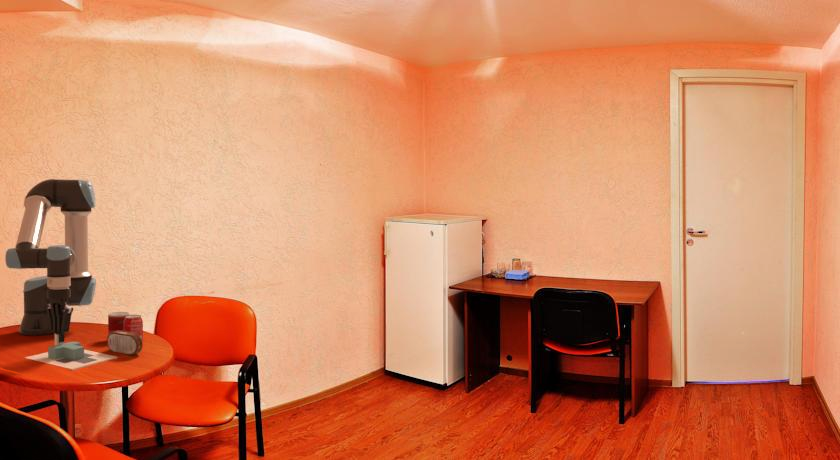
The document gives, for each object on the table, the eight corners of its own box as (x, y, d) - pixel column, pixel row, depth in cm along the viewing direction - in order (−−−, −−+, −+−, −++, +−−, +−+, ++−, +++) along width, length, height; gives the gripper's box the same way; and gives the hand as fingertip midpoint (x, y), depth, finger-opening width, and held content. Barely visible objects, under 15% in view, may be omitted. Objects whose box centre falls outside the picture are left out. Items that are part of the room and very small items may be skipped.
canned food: (121, 343, 252) (121, 316, 251) (103, 341, 253) (103, 314, 253) (133, 338, 259) (133, 312, 258) (116, 337, 261) (116, 311, 260)
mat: (70, 347, 243) (70, 346, 243) (117, 358, 232) (117, 356, 232) (24, 358, 227) (24, 357, 227) (71, 370, 215) (71, 369, 215)
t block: (73, 351, 236) (73, 341, 236) (91, 355, 232) (91, 345, 231) (48, 358, 227) (48, 347, 227) (66, 362, 223) (65, 351, 222)
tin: (143, 355, 237) (143, 333, 236) (136, 357, 234) (136, 335, 233) (112, 350, 242) (112, 328, 241) (105, 352, 239) (105, 330, 238)
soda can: (127, 343, 252) (127, 314, 251) (145, 343, 252) (145, 314, 251) (120, 348, 245) (120, 318, 244) (139, 348, 245) (139, 318, 244)
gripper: (37, 287, 229) (38, 350, 231) (60, 290, 224) (61, 355, 225) (57, 284, 236) (57, 345, 238) (80, 288, 230) (80, 350, 232)
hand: (59, 350), depth 231 cm, fingers closed
